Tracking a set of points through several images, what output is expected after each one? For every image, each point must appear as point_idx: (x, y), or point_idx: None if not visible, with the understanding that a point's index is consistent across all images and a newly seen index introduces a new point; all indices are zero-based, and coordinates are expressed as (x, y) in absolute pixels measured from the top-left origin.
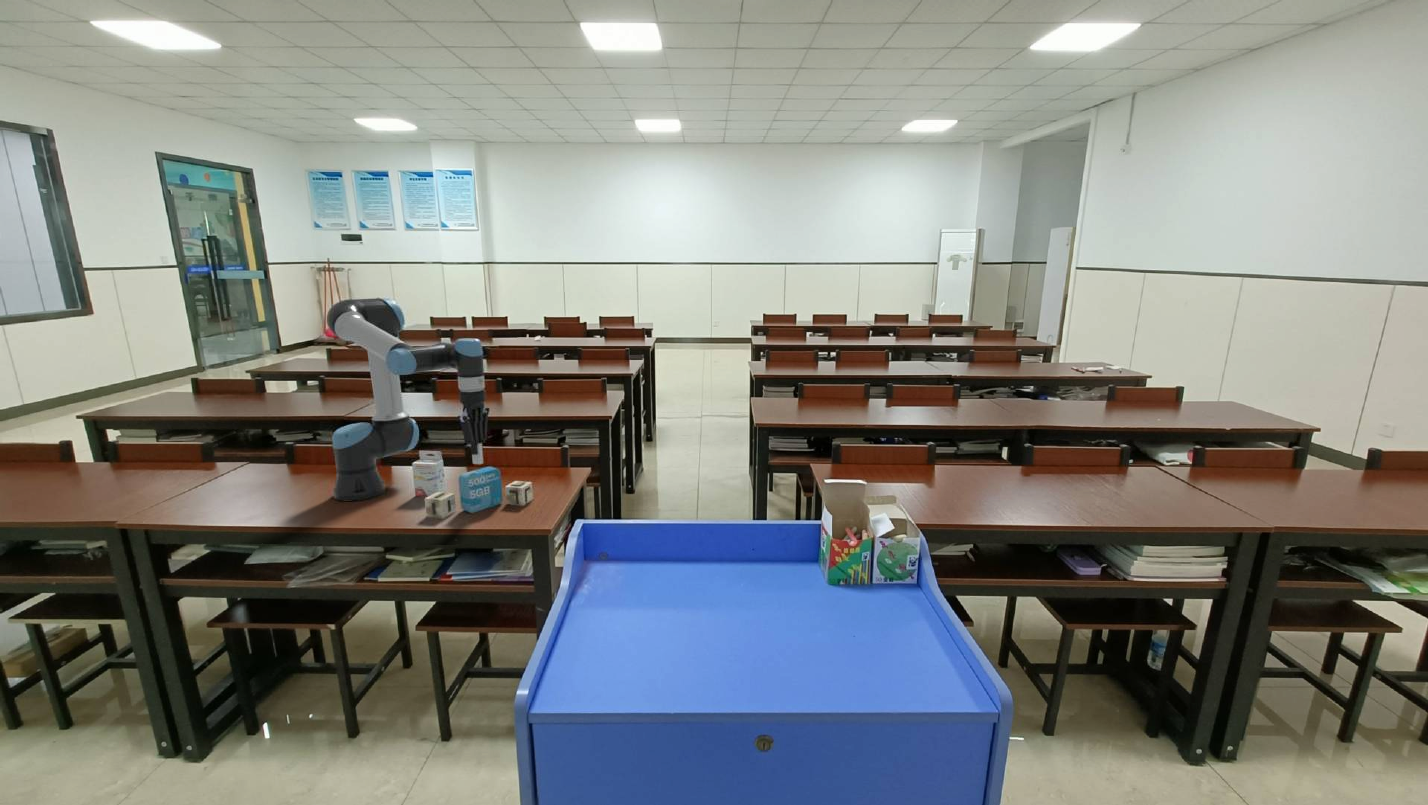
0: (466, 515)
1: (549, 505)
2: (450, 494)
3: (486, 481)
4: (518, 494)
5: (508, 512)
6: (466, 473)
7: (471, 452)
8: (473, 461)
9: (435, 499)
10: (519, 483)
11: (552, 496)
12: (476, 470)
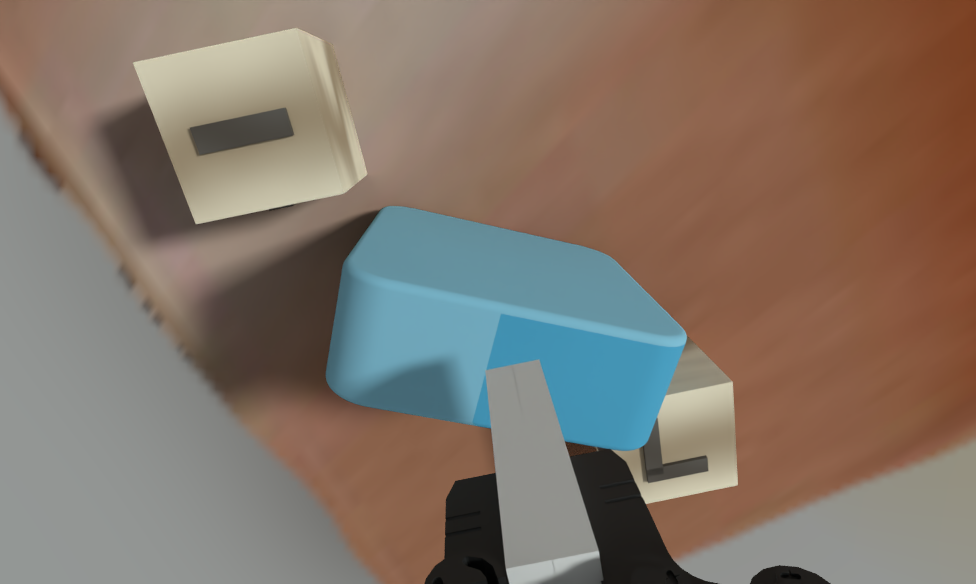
0: None
1: None
2: (312, 184)
3: None
4: None
5: (490, 439)
6: (403, 320)
7: (447, 504)
8: (489, 392)
9: (175, 169)
10: (692, 440)
11: (755, 473)
12: (515, 335)
